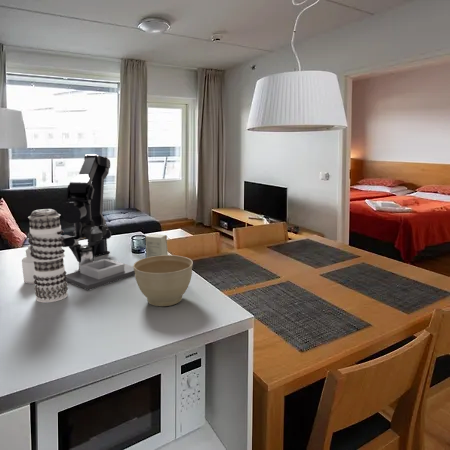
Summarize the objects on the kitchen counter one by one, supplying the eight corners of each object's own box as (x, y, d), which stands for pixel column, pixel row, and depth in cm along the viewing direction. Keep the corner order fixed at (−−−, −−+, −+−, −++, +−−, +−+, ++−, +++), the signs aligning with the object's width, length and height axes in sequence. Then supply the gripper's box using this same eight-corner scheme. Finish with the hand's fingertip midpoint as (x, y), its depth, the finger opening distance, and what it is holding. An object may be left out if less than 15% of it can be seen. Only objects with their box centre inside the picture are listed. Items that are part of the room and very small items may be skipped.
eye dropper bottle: (29, 286, 115) (25, 248, 113) (22, 281, 119) (18, 244, 116) (44, 282, 118) (40, 245, 116) (37, 278, 122) (33, 242, 120)
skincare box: (168, 268, 132) (167, 234, 130) (162, 272, 128) (161, 237, 126) (152, 266, 134) (151, 233, 132) (146, 270, 130) (144, 236, 128)
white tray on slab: (114, 264, 136) (114, 254, 135) (140, 272, 128) (140, 261, 127) (62, 280, 121) (61, 268, 120) (88, 290, 112) (87, 277, 111)
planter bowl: (172, 285, 117) (171, 251, 115) (204, 301, 105) (204, 264, 103) (124, 298, 107) (122, 261, 104) (154, 318, 95) (152, 277, 92)
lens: (88, 262, 138) (87, 244, 137) (96, 265, 135) (94, 246, 134) (76, 266, 134) (74, 247, 133) (83, 268, 131) (82, 249, 130)
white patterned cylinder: (56, 288, 114) (48, 206, 108) (76, 294, 109) (69, 209, 104) (27, 298, 106) (17, 211, 101) (48, 305, 101) (38, 214, 96)
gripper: (70, 224, 119) (74, 271, 122) (119, 216, 134) (121, 258, 137) (52, 220, 126) (56, 265, 129) (100, 212, 140) (102, 253, 143)
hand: (85, 260), depth 134 cm, fingers closed on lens, 5 cm apart
